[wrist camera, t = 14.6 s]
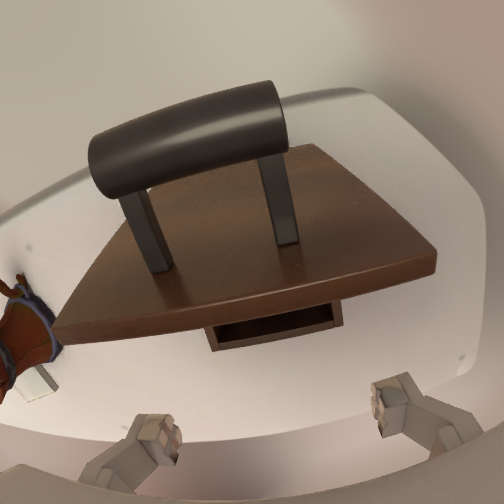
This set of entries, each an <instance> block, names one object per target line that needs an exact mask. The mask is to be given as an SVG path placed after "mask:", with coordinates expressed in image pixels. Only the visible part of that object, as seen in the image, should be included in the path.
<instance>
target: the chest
mask: <svg viewBox="0 0 504 504" xmlns="http://www.w3.org/2000/svg"><path fill="white" fill-rule="evenodd" d="M340 326H343V316H342V308H341V300H338V301H334V302H330V303H326V304H322V305H317V306H313V307H309V308H304V309H300V310H295V311H290V312H286V313H281V314H276V315H271V316H266V317H261V318H256V319H251V320H246V321H241V322H235V323H230V324H224V325H219V326H213V327H207V328H204V330H205V333H206V336H207V339H208V342H209V344H210V347H211V350H212V352H215V351H220V350H227V349H233V348H239V347H245V346H251V345H256V344H262V343H267V342H272V341H277V340H282V339H287V338H292V337H296V336H301V335H306V334H310V333H315V332H319V331H323V330H327V329H332V328H334V327H340Z"/></svg>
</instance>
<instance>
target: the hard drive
mask: <svg viewBox="0 0 504 504" xmlns="http://www.w3.org/2000/svg"><path fill="white" fill-rule="evenodd" d="M13 387H14V388H15V389H16V390H17V392H18V393H19V394H20V395H21V397H22V398H23V399H24V400H25V401H26V402H27V403H28V402H31V401H33V400H36V399H38V398H41V397H44V396H46V395H49V394H51V393H54V392H56V391H57V389H58V386H57V384H56V383H55V382H54V381H53V379H52V378H51V377H50V376H49V375H48V373H47V372H46V371H45V369H44V368H43V367H42V365H41V364H39V365H36V366H34V367H31V368H29V369H27V370H25V371H24V372H23V373H22V374H21V375H19V376H18V377H17V378H16V381H15V384H14V385H13Z"/></svg>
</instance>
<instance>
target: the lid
mask: <svg viewBox="0 0 504 504" xmlns="http://www.w3.org/2000/svg"><path fill="white" fill-rule="evenodd" d="M88 163H89V168H90V172H91V175H92V178H93V180H94V182H95V184H96V186H97V188H98V189H99V190H100V192H101V193H102V194H103V195H104V196H105V197H107V198H109V199H119V202H120V204H121V207H122V209H123V212H124V214H125V217H126V220H125V221H124V223H123V224H122V225H121V227H120V228H119V229H118V230H117V232H116V233H115V234H114V236H113V237H112V238H111V239H110V241H109V242H108V243H107V245H106V246H105V247H104V249H103V250H102V251H101V253H100V254H99V256H98V257H97V258H96V260H95V261H94V263H93V264H92V265H91V267H90V268H89V270H88V271H87V272H86V274H85V275H84V277H83V278H82V280H81V281H80V283H79V284H78V286H77V287H76V289H75V290H74V292H73V293H72V295H71V296H70V298H69V299H68V301H67V302H66V304H65V305H64V307H63V309H62V310H61V312H60V313H59V315H58V317H57V318H56V320H55V321H54V323H53V325H52V326H51V329H50V330H51V332H52V333H53V334H54V336H55V337H56V339H57V340H58V341H59V342H60V344H61V345H75V344H86V343H97V342H106V341H115V340H124V339H132V338H140V337H147V336H155V335H162V334H169V333H176V332H182V331H189V330H195V329H201V328H207V327H213V326H219V325H224V324H230V323H235V322H241V321H246V320H251V319H256V318H261V317H266V316H271V315H276V314H281V313H286V312H290V311H295V310H300V309H304V308H309V307H313V306H317V305H322V304H326V303H330V302H334V301H338V300H342V299H346V298H350V297H354V296H358V295H362V294H366V293H370V292H374V291H377V290H381V289H385V288H388V287H392V286H396V285H399V284H403V283H406V282H410V281H413V280H417V279H420V278H423V277H427V276H430V275H433V274H434V273H435V270H436V262H437V250H436V249H435V248H434V247H433V246H432V245H431V244H430V243H429V242H428V241H427V240H426V239H425V238H424V237H423V236H422V235H421V234H420V233H419V232H418V231H417V230H416V229H415V228H414V227H413V226H412V225H411V224H410V223H409V222H408V221H407V220H405V219H404V218H403V217H402V216H401V215H400V214H399V213H398V212H397V211H396V210H395V209H393V208H392V207H391V206H390V205H389V204H388V203H387V202H386V201H384V200H383V199H382V198H381V197H380V196H379V195H377V194H376V193H375V192H374V191H373V190H372V189H370V188H369V187H368V186H367V185H366V184H364V183H363V182H362V181H361V180H360V179H358V178H357V177H356V176H355V175H353V174H352V173H351V172H350V171H349V170H347V169H346V168H345V167H343V166H342V165H341V164H340V163H338V162H337V161H336V160H334V159H333V158H332V157H331V156H329V155H328V154H327V153H325V152H324V151H323V150H321V149H320V148H319V147H317V146H316V145H314V144H313V143H312V144H306V145H301V146H296V147H291V148H289V142H288V134H287V128H286V123H285V118H284V114H283V110H282V106H281V103H280V99H279V96H278V93H277V91H276V88H275V86H274V84H273V82H272V81H270V80H267V81H262V82H257V83H253V84H248V85H244V86H239V87H235V88H231V89H227V90H223V91H219V92H215V93H212V94H208V95H205V96H201V97H197V98H194V99H191V100H188V101H184V102H181V103H178V104H175V105H172V106H169V107H166V108H163V109H160V110H157V111H155V112H152V113H149V114H146V115H143V116H141V117H138V118H135V119H133V120H130V121H128V122H125V123H123V124H120V125H118V126H116V127H113V128H111V129H109V130H106V131H104V132H102V133H99V134H97V135H95V136H94V137H93V138H92V140H91V141H90V144H89V148H88ZM151 187H153V188H152V189H151V190H150V191H149V192H148V193H147V190H146V189H148V188H151Z"/></svg>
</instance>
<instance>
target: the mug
mask: <svg viewBox="0 0 504 504" xmlns="http://www.w3.org/2000/svg"><path fill="white" fill-rule="evenodd" d="M16 279H17V281H18V284H16V285H15V287H14V289H10V288H9V287H8V286H7V285H6V284H5V283H4V282H3V281H2V280H1V279H0V292H1V293H2V294H3V295H5V296H7V297H9V300H8V302H7V305H6V308H5V310H4V315H3V317H2V319H1V320H0V404H2V402H3V399H4V397H5V395H6V392H7V391H8V390H10V389H12V387H13V385H14V384H15V381H16V378H17V377H18V376H19V375H21V374H22V373H23V372H24V371H25V370H27V369H29V368H31V367H34V366H36V365H39V364H42V363H50V362H53V361H54V360H55V359H56V357H57V356H58V355H59V353H60V352H61V350H62V345H61V344H60V342H59V341H58V340H57V339H56V337H55V336H54V334H53V333H52V332H51V330H50V329H51V326H52V325H53V323H54V321H55V318H54V315H53V314H52V312H51V311H50V310H49V309H48V308H47V307H46V306H45V305H44V304H43V303H42V302H41V300H40V299H39V298H37V297H34V296H32V295H30V294H28V292H27V285H26V281H25V277H24V276H22V275H20V274H17V275H16Z"/></svg>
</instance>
